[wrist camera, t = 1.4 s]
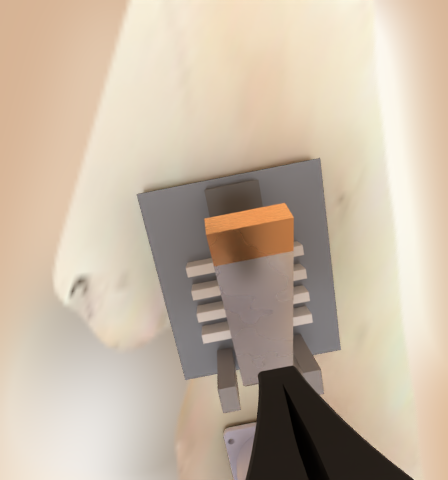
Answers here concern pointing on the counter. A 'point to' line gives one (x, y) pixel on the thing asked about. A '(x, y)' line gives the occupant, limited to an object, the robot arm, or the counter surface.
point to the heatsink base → (204, 277)
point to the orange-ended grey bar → (256, 284)
